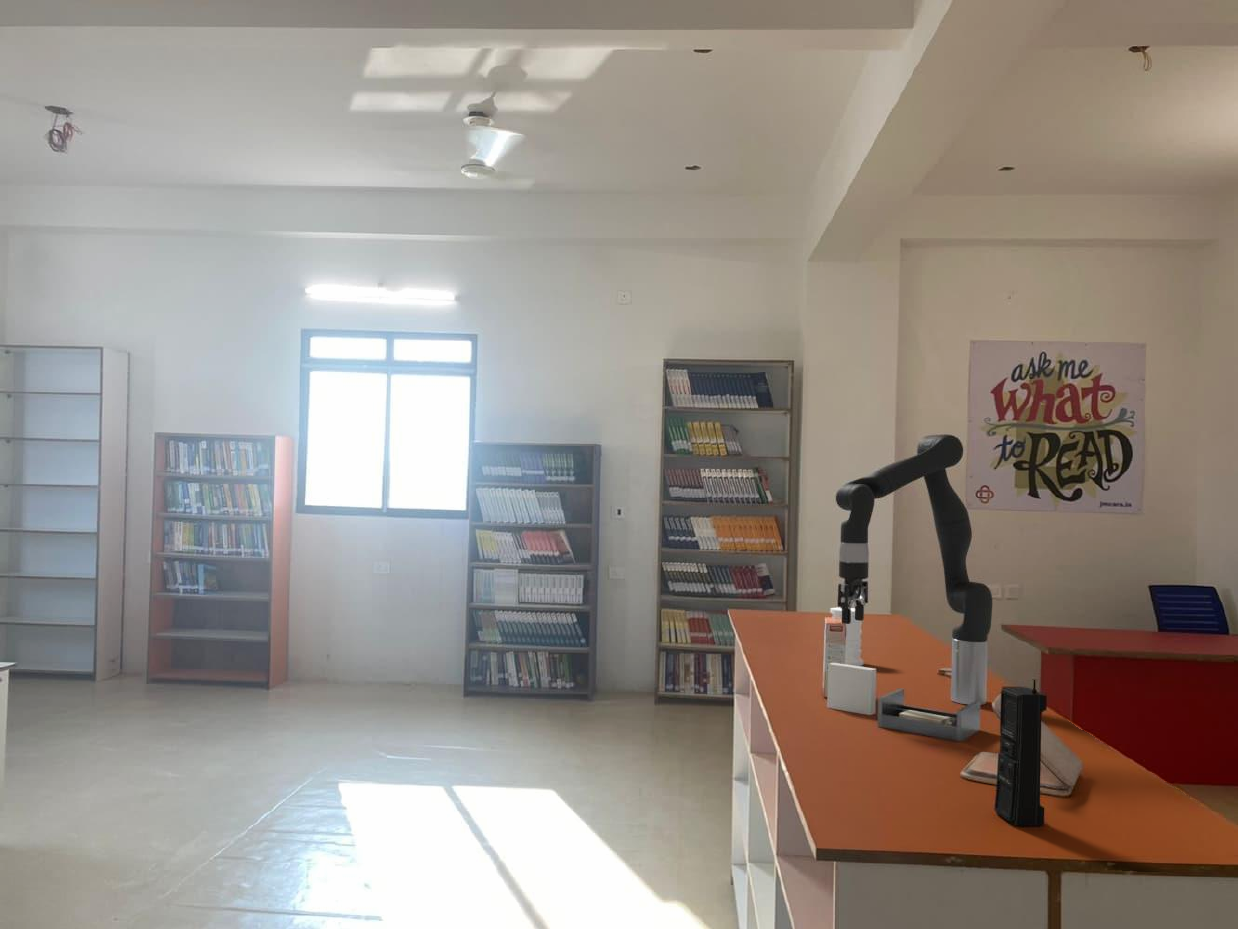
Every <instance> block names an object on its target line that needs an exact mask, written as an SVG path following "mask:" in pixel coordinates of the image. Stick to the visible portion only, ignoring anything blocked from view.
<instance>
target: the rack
mask: <svg viewBox="0 0 1238 929" xmlns="http://www.w3.org/2000/svg"><path fill="white" fill-rule="evenodd" d="M877 698H878V699H877V727H878V728H883V729H889V730H894V731H900V732H905V733H911V734H914V735H915V734H916V735H921V736H927V737H933V738H937V739H938V738H939V739H943V740H950V741H954V742H963V741H964V740H966V739H968V738H970V737H971V736H973V735H974V734H976V733H978V732H980V731H981V706H982V705H981V701H977V700H976V701H974V702H973V703H971V704H966V705H965V706H963V707H962V708H960V709H957V710H956V711H957V712H955V713H954V712H949V711H943V710H936V709H931V708H925V707H919V706H918V707H917V706H912V705H906V704H905V689H904V688H899V689H896V690H893V691H892V692H889V693H885V694H884V695H882V696H880V697H877ZM907 710H913V711H919V712H924V713H929V714H935V715H940V716H946V717H950V722H952V726H948V725H942V724H937V723H931V722H925V721H919V720H914V719H908V718H902V717H899V713H902V712H904V711H907Z"/></svg>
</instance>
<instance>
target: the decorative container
mask: <svg viewBox="0 0 1238 929" xmlns="http://www.w3.org/2000/svg"><path fill="white" fill-rule="evenodd" d="M850 610H851V623H850V624H846V652H845V664H847V665H853V666H860V667H862V666H863V665H864V660H863V658H861V653H862V649H861V646H862V638H861V636H862V634H863V631H862V625H863V620H862V621H859V620H855V607H851V609H850ZM829 613H830V614H831V615H832V616H831V617H835V618H842V609H841V608H840V607H838V606H837V607H830V610H829Z"/></svg>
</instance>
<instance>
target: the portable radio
mask: <svg viewBox="0 0 1238 929" xmlns="http://www.w3.org/2000/svg"><path fill="white" fill-rule="evenodd" d="M1032 681H1033V687H1032V688H1031V687H1026V686H1006V685H1005V686H1004V685H1003V686H1002V687H1001V689H1000V694H1001V712H1000V719H999V720H1000V721H999V733H1000V739H999V742H1000V743H999V753H997V754H998V768H997V785H995V787H996V788H995V798H994V799H995V800H994V801H995V802H994V807H993V808H994V809H993V810H994V811H995V813H996V815H998V816H1000V817H1001V818H1002V819H1004V820H1005V821H1007V822H1008V823H1009V824H1011V825H1012V826H1014V827H1039V826H1042V825H1045V807H1044V806H1042V805H1041V793H1040V768H1041V721H1042V714H1043V712H1045V711H1047V700H1048V697H1047V695H1046V694H1044V693H1042V692H1041V691H1040V692H1039V691H1037V689H1036V683H1037V679H1036V678H1035V679H1032Z"/></svg>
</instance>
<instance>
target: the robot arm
mask: <svg viewBox="0 0 1238 929" xmlns="http://www.w3.org/2000/svg"><path fill="white" fill-rule="evenodd" d="M917 443H918V444H917V448H916V450H917V451H916V454H915V455H913V456H911V457H908V458H904V459H902V460H898V461H896V462H892V463H890V464H889V463H888V465H885V466H883V467H882V468H879V469H878V470H877V469H876V471H873V472H872V473H871V474H868V475H866V476H862V477H860V478H857V479H855V480H852V481H849V482H847V483H845V484H843V485H842V486H841V487H840V488H839V489H838V490H837V492H836V493H835V501H836V505H837V506H838V507H839V508H840V509H842V510H845V511H850V513H849V517H848V519H846V520H844V521H842V522H841V524H840V540H839V541H840V546H839V553H838V555H839V556H838V558H839V560H838V577H839V578H840V579H844V581H843V582H844V583H838V587H837V607H840V608H841V609H842V623H843V624H850V623H851V610H850V609H851V608H852V607H853V604H854V608H855V620H859V621H862V622H863V620H864V619H865V606H866V604H868V603H869V581H868V580H867V579H868V578H869V566H870V565H869V558H870V554H869V544H868V543H869V526H870V523H871V519H872V517H873V512H874V507H875V499H882V498H885V497H887V496H889V495H891V494H892V493H893V492H895V491H897V490H900V489H901V488H903V487H905V486H907V485H908V484H911V483H913V482H914V481H916V480H919V479H921V478H923V479H924V482H925V485H926V489H927V494H928V498H929V502H930V506H931V511H932V514H933V522H934V527H935V532H936V536H937V540H938V543H939V544H938V545H939V550H940V556H941V560H942V565H943V566H942V567H943V574H944V575H943V576H944V584H945V585H944V586H945V595H946V600H947V604H948V606H949V607H950V609H951V610H953V611H954V612H955V613H958V614H962V615H963V620H962V623H961V624H960V625H958V626H955V627H953V629H952V633H951V638H952V639H951V670H950V671H951V676H950V679H951V680H950V682H951V683H950V687H951V688H950V701H952V702H954V703H957V704H962V705H969V704H971V703H973V702H974V701H976V700H977V701H981V706H984V705H985V704H987V683H988V682H987V680H988V679H987V674H988V639H989V638H988V636H989V633H990V631H991V627H992V617H993V595H992V591H991V590H990V588H989V587H988V586H987V585H986V584H984V583H981V582H975V581H970V578H969V575H968V569H967V556H968V552H969V548H970V546H971V542H972V538H973V531H972V525H971V520H970V516H969V512H968V509H967V507H966V506H965V504H964V502H963V501H962V500H961V498H960V497H959V496H958V494H957V493H956V491H955V490H954V488H953V487H952V485H951V483H950V480H949V477H948V472H947V470H946V469H948V468H952V467H954V466H956V465H957V464H959V462H960V461H961V460H962V459H963V455H964V447H963V443H962V441H961V439H959V437H957V436H955V435H952V434H947V433H946V434H934V435H933V434H931V435H925V436H923V437H922V438H921V439H920V440H919V441H918V442H917Z"/></svg>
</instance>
